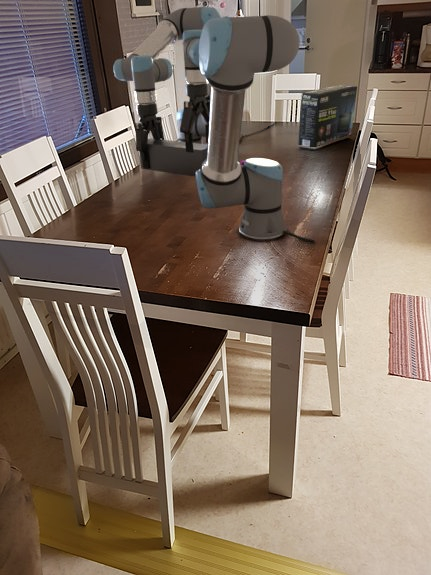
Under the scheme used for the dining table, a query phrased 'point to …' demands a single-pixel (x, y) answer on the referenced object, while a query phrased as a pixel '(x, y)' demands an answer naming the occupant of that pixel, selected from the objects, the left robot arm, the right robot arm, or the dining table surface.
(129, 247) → the dining table surface
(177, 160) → the box
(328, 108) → the router box
